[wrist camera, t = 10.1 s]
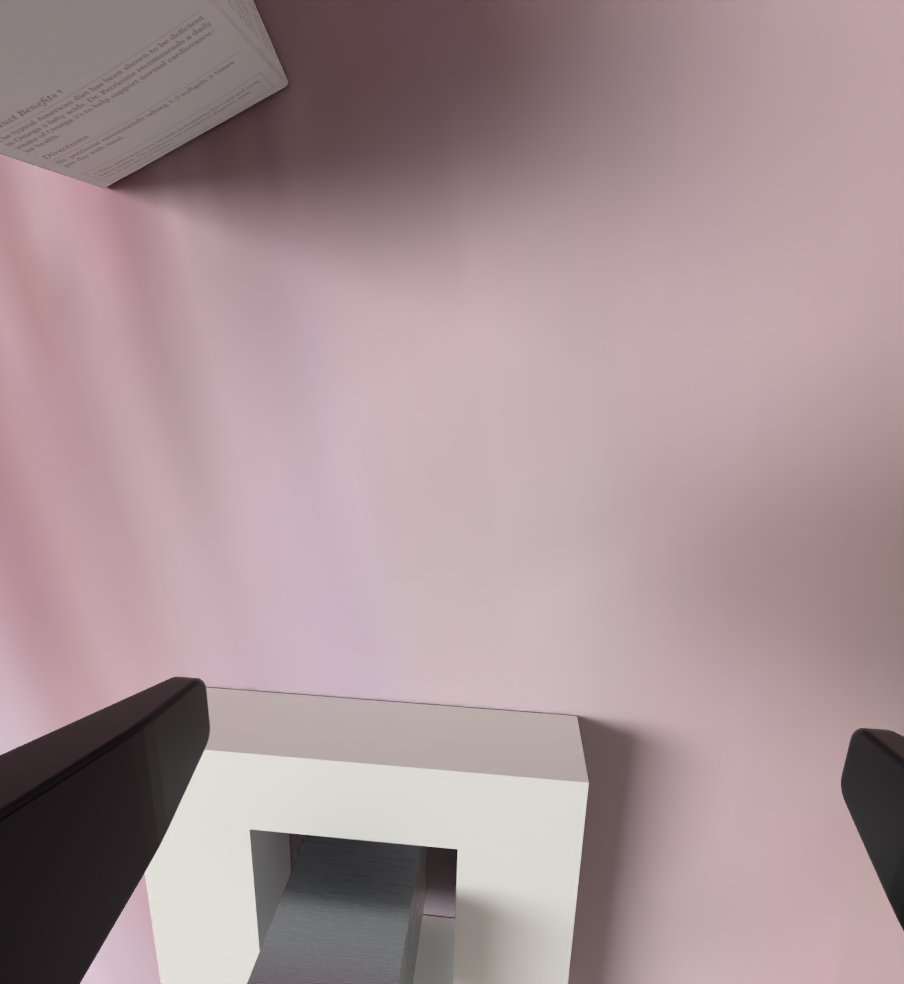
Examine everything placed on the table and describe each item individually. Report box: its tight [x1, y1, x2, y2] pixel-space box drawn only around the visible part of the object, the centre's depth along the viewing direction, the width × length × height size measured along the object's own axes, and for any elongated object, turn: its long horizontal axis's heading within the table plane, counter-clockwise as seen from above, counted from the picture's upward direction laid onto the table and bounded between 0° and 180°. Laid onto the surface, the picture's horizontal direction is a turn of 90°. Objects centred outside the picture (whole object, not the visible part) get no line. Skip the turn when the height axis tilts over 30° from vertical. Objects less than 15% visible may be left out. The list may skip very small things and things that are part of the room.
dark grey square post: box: [247, 835, 427, 984], centre depth 22 cm, size 4×4×8 cm
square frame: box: [145, 687, 589, 984], centre depth 24 cm, size 16×14×4 cm
